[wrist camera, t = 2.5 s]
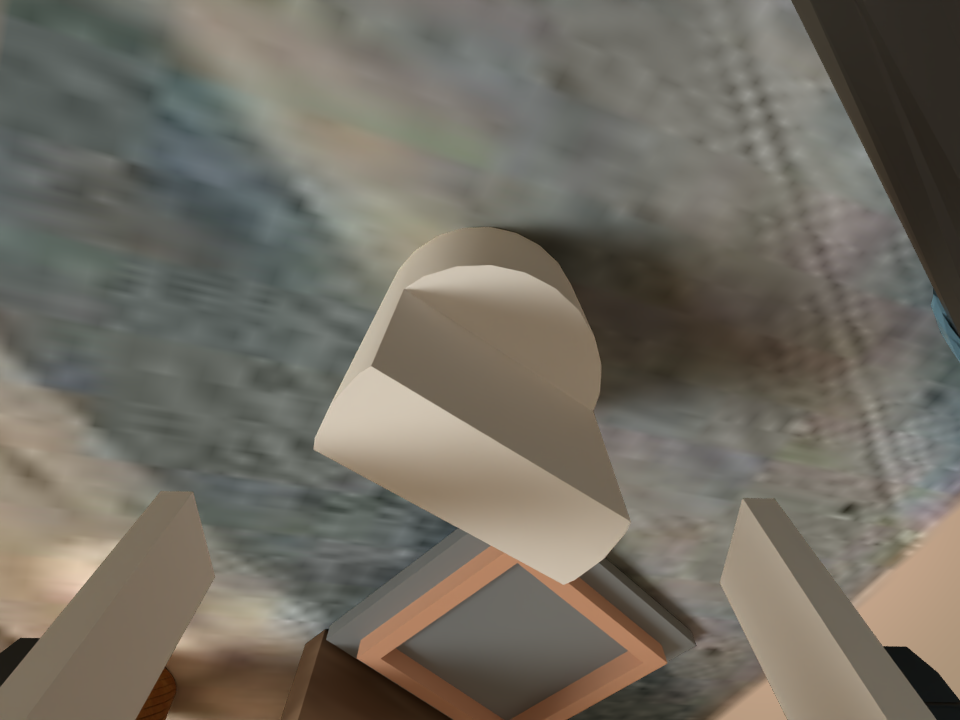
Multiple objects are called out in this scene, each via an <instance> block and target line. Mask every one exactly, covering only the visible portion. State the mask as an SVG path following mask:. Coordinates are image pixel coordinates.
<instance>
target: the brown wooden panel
mask: <svg viewBox="0 0 960 720" xmlns="http://www.w3.org/2000/svg"><path fill="white" fill-rule="evenodd" d="M327 635H328V631H327V630H326V629H325V630H324V631H322V632H321V633H320V634H318V635H317V636H316V637H314V638H313V639H312V640H310V641H309V642H308V643H306V644H305V647H304V650H303V653H302V656H301V659H300V662H299V666H298V669H297V672H296V675H295V678H294V681H293V684H292V687H291V690H290V693H289V696H288V699H287V702H286V705H285V708H284V711H283V714H282V717H281V720H452V719H451V718H449V717H448V716H446V715H444V714H443V713H441V712H440V711H438V710H437V709H435V708H433V707H432V706H430V705H429V704H427V703H426V702H424V701H422V700H421V699H419V698H418V697H416V696H414V695H413V694H411V693H410V692H408V691H407V690H405V689H403V688H402V687H400V686H399V685H397V684H395V683H394V682H392V681H391V680H389V679H388V678H386V677H384V676H383V675H381V674H380V673H378V672H376V671H375V670H373V669H372V668H370V667H369V666H367V665H365V664H364V663H362V662H361V661H359V660H358V659H356V658H354V657H353V656H351V655H350V654H348V653H346V652H345V651H343V650H342V649H340V648H339V647H337V646H335V645H334V644H332V643H331V642H329V641H327V640H326V638H327Z"/></svg>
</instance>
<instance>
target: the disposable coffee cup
mask: <svg viewBox="0 0 960 720" xmlns="http://www.w3.org/2000/svg"><path fill="white" fill-rule="evenodd" d="M175 694H176V684H175V681H174V678H173V677H172V675H171V674H170V673H169V671H168V670H167V669H166V668H165V667H164V669H163V671H162V673H161V675H160V676H159V678H158V680H157V682H156V684H155V685H154V687H153V689H152V691H151V693H150V694H149V696H148V698H147V700H146V701H145V703H144V705H143V707H142V709H141V710H140V712H139V714H138V716H137V718H136V719H135V720H165V719H166V716H167V714H168V711H169V709H170V706H171V703H172V701H173V698H174V696H175Z"/></svg>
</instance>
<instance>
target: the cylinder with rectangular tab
mask: <svg viewBox="0 0 960 720" xmlns="http://www.w3.org/2000/svg"><path fill="white" fill-rule="evenodd" d="M600 383H601V361H600V357H599V353H598V349H597V344H596V340H595V336H594V334H593V332H592V330H591V328H590V325H589V323H588V321H587V319H586V317H585V314H584V312H583V310H582V308H581V305H580V303H579V301H578V299H577V297H576V294H575V292H574V290H573V288H572V286H571V284H570V282H569V280H568V279H567V277H566V275H565V273H564V272H563V270H562V268H561V267H560V265H559V263H558V262H557V261H556V260H555V259H554V258H553V257H552V256H550V255H549V254H548V253H547V252H546V251H545V250H544V249H543V248H542V247H541V246H540V245H538V244H536V243H534V242H533V241H531V240H529V239H527V238H525V237H523V236H521V235H519V234H518V233H515V232H510V231H506V230H502V229H497V228H493V227H475V228H461V229H458V230H455V231H452V232H449V233H445V234H442V235H439V236H437V237H435V238H434V239H432V240H431V241H429V242H427V243H426V244H424V245H423V246H421V247H420V248H418V249H417V250H415V251H414V252H413V254H412V255H411V256H410V257H409V258H408V259H407V260H406V262H405V263H404V264H403V265H402V266H401V267H400V268H399V270H398V272H397V274H396V276H395V278H394V280H393V282H392V284H391V286H390V288H389V290H388V291H387V293H386V295H385V297H384V299H383V301H382V303H381V305H380V307H379V309H378V311H377V313H376V315H375V317H374V319H373V321H372V323H371V325H370V327H369V329H368V331H367V333H366V335H365V337H364V339H363V341H362V343H361V345H360V347H359V349H358V351H357V353H356V355H355V357H354V359H353V361H352V363H351V365H350V367H349V369H348V371H347V373H346V375H345V377H344V379H343V381H342V383H341V385H340V387H339V389H338V391H337V393H336V395H335V397H334V399H333V401H332V403H331V405H330V407H329V409H328V411H327V413H326V416H325V418H324V420H323V422H322V424H321V426H320V428H319V431H318V433H317V435H316V437H315V442H314V450H315V451H317V452H319V453H321V454H323V455H325V456H327V457H328V458H330V459H332V460H334V461H336V462H338V463H339V464H341V465H343V466H345V467H347V468H349V469H351V470H352V471H354V472H356V473H358V474H360V475H362V476H363V477H365V478H367V479H369V480H371V481H373V482H375V483H376V484H378V485H380V486H382V487H384V488H386V489H387V490H389V491H391V492H393V493H395V494H397V495H399V496H400V497H402V498H404V499H406V500H408V501H410V502H411V503H413V504H415V505H417V506H419V507H421V508H423V509H424V510H426V511H428V512H430V513H432V514H434V515H435V516H437V517H439V518H441V519H443V520H445V521H447V522H448V523H450V524H452V525H454V526H456V527H458V528H459V529H461V530H463V531H465V532H467V533H469V534H471V535H472V536H474V537H476V538H478V539H480V540H482V541H483V542H485V543H487V544H489V545H491V546H493V547H495V548H496V549H498V550H500V551H502V552H504V553H506V554H508V555H509V556H511V557H513V558H515V559H517V560H519V561H520V562H522V563H524V564H526V565H528V566H530V567H532V568H533V569H535V570H537V571H539V572H541V573H543V574H544V575H546V576H548V577H550V578H552V579H554V580H556V581H557V582H559V583H561V584H563V585H565V584H567V583H569V582H571V581H574V580H575V579H577V578H578V577H579V576H581V575H582V574H584V573H585V572H586V571H588V570H589V569H590V568H592V567H593V566H595V565H596V564H597V563H599V562H600V561H601V560H603V559H604V558H605V557H606V556H607V554H608V553H609V552H610V551H611V550H612V548H613V547H614V546H615V545H616V544H617V542H618V541H619V540H620V539H621V538H622V536H623V535H624V534H625V533H626V532H627V529H628V527H629V525H630V523H631V521H630V518H629V515H628V512H627V509H626V506H625V503H624V500H623V497H622V494H621V491H620V488H619V486H618V483H617V480H616V477H615V474H614V471H613V468H612V465H611V462H610V459H609V456H608V453H607V450H606V447H605V445H604V442H603V439H602V436H601V433H600V430H599V427H598V424H597V421H596V418H595V415H594V412H593V411H594V408H595V405H596V403H597V400H598V397H599V394H600Z"/></svg>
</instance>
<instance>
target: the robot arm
mask: <svg viewBox="0 0 960 720" xmlns="http://www.w3.org/2000/svg"><path fill="white" fill-rule="evenodd" d="M791 1H792V3H793V5H794V7H795V9H796V11H797V13H798V15H799V17H800V19H801V21H802V23H803V25H804V27H805V29H806V31H807V33H808V35H809V37H810V39H811V41H812V43H813V45H814V47H815V49H816V51H817V53H818V55H819V57H820V59H821V61H822V63H823V65H824V67H825V69H826V71H827V73H828V75H829V77H830V80H831V82H832V84H833V86H834V88H835V90H836V92H837V94H838V96H839V98H840V100H841V102H842V104H843V106H844V108H845V110H846V112H847V114H848V116H849V118H850V120H851V122H852V124H853V126H854V128H855V130H856V132H857V134H858V136H859V138H860V140H861V142H862V144H863V146H864V148H865V150H866V152H867V154H868V156H869V158H870V160H871V162H872V164H873V166H874V169H875V171H876V173H877V175H878V177H879V179H880V181H881V183H882V185H883V187H884V189H885V191H886V193H887V195H888V197H889V199H890V201H891V203H892V205H893V207H894V209H895V211H896V213H897V215H898V217H899V219H900V221H901V223H902V225H903V227H904V229H905V231H906V233H907V235H908V237H909V239H910V241H911V243H912V245H913V247H914V249H915V251H916V253H917V255H918V258H919V260H920V262H921V264H922V266H923V268H924V270H925V272H926V274H927V276H928V278H929V280H930V282H931V284H932V286H933V299H932V303H931V307H932V310H933V312H934V315H935V318H936V321H937V324H938V327H939V330H940V332H941V334H942V336H943V337H944V339H945V341H946V342H947V344H948V345H949V347H950V348H951V350H952V352H953V353H954V355H955V356H956V358H957V359H958V361H959V362H960V0H791ZM214 578H215V574H214V570H213V567H212V563H211V559H210V555H209V551H208V547H207V544H206V540H205V536H204V532H203V528H202V524H201V521H200V517H199V513H198V509H197V505H196V502H195V498H194V494H193V492H181V491H161V492H160V493H159V494H158V495H157V496H156V498H155V499H154V500H153V501H152V503H151V504H150V505H149V506H148V507H147V509H146V510H145V511H144V512H143V514H142V515H141V516H140V517H139V518H138V520H137V521H136V522H135V523H134V525H133V526H132V527H131V528H130V529H129V531H128V532H127V533H126V534H125V536H124V537H123V538H122V539H121V540H120V542H119V543H118V544H117V545H116V546H115V548H114V549H113V550H112V551H111V553H110V554H109V555H108V556H107V557H106V559H105V560H104V561H103V562H102V564H101V565H100V566H99V567H98V568H97V570H96V571H95V572H94V573H93V575H92V576H91V577H90V578H89V579H88V581H87V582H86V583H85V584H84V586H83V587H82V588H81V589H80V590H79V592H78V593H77V594H76V595H75V597H74V598H73V599H72V600H71V601H70V603H69V604H68V605H67V606H66V608H65V609H64V610H63V611H62V612H61V614H60V615H59V616H58V617H57V618H56V620H55V621H54V622H53V623H52V625H51V626H50V627H49V628H48V629H47V631H46V632H45V633H44V634H43V636H42V637H41V638H20V639H18V640H17V641H16V642H14V643H13V644H12V645H10V646H9V647H8V648H7V649H5V650H4V651H3V652H1V653H0V720H135V719H136V718H137V716H138V714H139V712H140V710H141V709H142V707H143V705H144V703H145V701H146V700H147V698H148V696H149V694H150V693H151V691H152V689H153V687H154V685H155V684H156V682H157V680H158V678H159V676H160V675H161V673H162V671H163V669H164V667H165V666H166V664H167V662H168V660H169V659H170V657H171V655H172V653H173V651H174V650H175V648H176V646H177V644H178V642H179V641H180V639H181V637H182V635H183V633H184V632H185V630H186V628H187V626H188V625H189V623H190V621H191V619H192V617H193V616H194V614H195V612H196V610H197V608H198V607H199V605H200V603H201V601H202V599H203V598H204V596H205V594H206V592H207V591H208V589H209V587H210V585H211V583H212V582H213V580H214ZM720 584H721V586H722V588H723V590H724V592H725V594H726V596H727V598H728V600H729V602H730V604H731V606H732V608H733V610H734V612H735V614H736V617H737V619H738V621H739V623H740V625H741V627H742V629H743V631H744V633H745V635H746V637H747V639H748V641H749V643H750V645H751V647H752V649H753V651H754V653H755V655H756V657H757V659H758V661H759V663H760V665H761V667H762V669H763V671H764V673H765V675H766V678H767V680H768V682H769V684H770V686H771V687H772V690H773V692H774V694H775V696H776V698H777V700H778V702H779V704H780V706H781V708H782V710H783V712H784V714H785V716H786V718H787V720H960V700H959V699H958V697H957V696H956V695H955V694H954V692H953V691H952V690H951V689H950V688H949V686H948V685H947V684H946V682H945V681H944V680H943V679H942V677H941V676H940V675H939V673H938V672H936V671H935V670H934V669H933V668H932V667H930V666H929V665H928V664H927V663H926V662H924V661H923V660H922V659H921V658H919V657H918V656H917V655H916V654H915V653H913V652H912V651H911V650H910V649H909V648H907V647H888V646H886V647H885V646H882V644H881V643H880V642H879V640H878V639H877V638H876V636H875V635H874V634H873V632H872V631H871V630H870V628H869V627H868V625H867V624H866V623H865V621H864V620H863V619H862V617H861V616H860V614H859V613H858V612H857V610H856V609H855V608H854V606H853V605H852V603H851V602H850V601H849V599H848V598H847V597H846V595H845V594H844V593H843V591H842V590H841V588H840V587H839V586H838V584H837V583H836V582H835V580H834V579H833V578H832V576H831V575H830V573H829V572H828V571H827V569H826V568H825V567H824V565H823V564H822V563H821V561H820V560H819V558H818V557H817V556H816V554H815V553H814V552H813V550H812V549H811V548H810V546H809V545H808V543H807V542H806V541H805V539H804V538H803V537H802V535H801V534H800V533H799V531H798V530H797V528H796V527H795V526H794V524H793V523H792V522H791V520H790V519H789V517H788V516H787V515H786V513H785V512H784V511H783V509H782V508H781V507H780V505H779V504H778V502H777V501H776V500H775V499H762V498H743V499H742V503H741V506H740V510H739V514H738V517H737V521H736V525H735V529H734V532H733V536H732V540H731V543H730V547H729V551H728V554H727V558H726V562H725V566H724V569H723V573H722V577H721V580H720Z"/></svg>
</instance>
